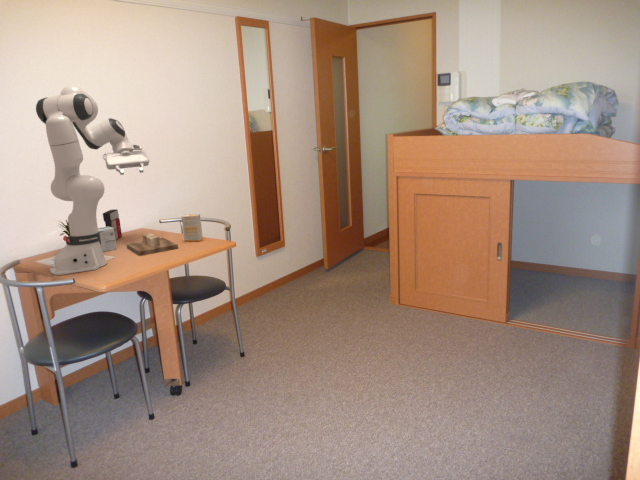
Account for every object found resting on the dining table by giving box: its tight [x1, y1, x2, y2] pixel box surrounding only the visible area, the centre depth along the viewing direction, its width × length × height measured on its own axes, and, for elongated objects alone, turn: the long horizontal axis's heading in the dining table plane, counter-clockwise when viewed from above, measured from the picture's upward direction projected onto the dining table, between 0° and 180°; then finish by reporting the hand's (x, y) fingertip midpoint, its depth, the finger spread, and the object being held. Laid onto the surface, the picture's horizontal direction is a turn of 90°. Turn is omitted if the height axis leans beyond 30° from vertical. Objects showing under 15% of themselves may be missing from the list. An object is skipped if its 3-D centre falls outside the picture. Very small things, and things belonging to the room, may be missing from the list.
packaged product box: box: [102, 208, 123, 240], centre depth 281 cm, size 11×4×15 cm, turn 179°
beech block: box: [142, 233, 160, 247], centre depth 259 cm, size 4×4×12 cm
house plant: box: [58, 219, 70, 237], centre depth 260 cm, size 14×14×16 cm
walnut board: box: [126, 237, 179, 257], centre depth 259 cm, size 18×20×2 cm
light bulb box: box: [98, 226, 118, 253], centre depth 259 cm, size 11×7×11 cm, turn 134°
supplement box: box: [181, 213, 204, 243], centre depth 269 cm, size 8×5×13 cm, turn 84°
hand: (132, 172), depth 261 cm, fingers open, 8 cm apart
